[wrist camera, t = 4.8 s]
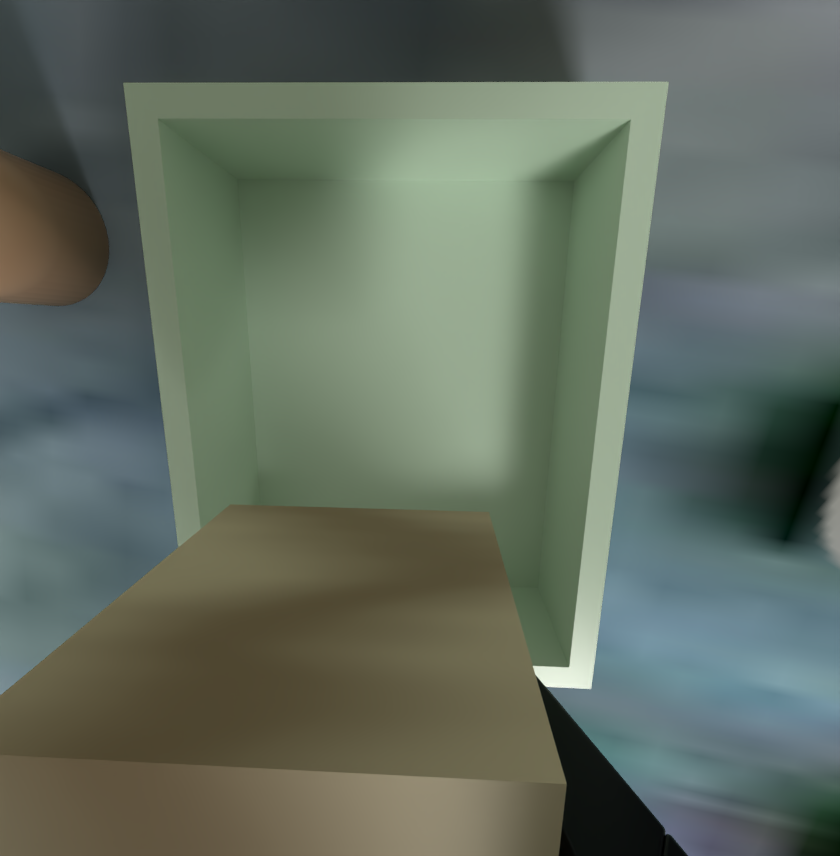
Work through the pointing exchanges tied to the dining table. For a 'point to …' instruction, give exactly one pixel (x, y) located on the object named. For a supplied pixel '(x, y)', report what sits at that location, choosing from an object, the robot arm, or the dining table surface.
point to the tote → (405, 309)
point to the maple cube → (292, 701)
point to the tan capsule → (47, 237)
